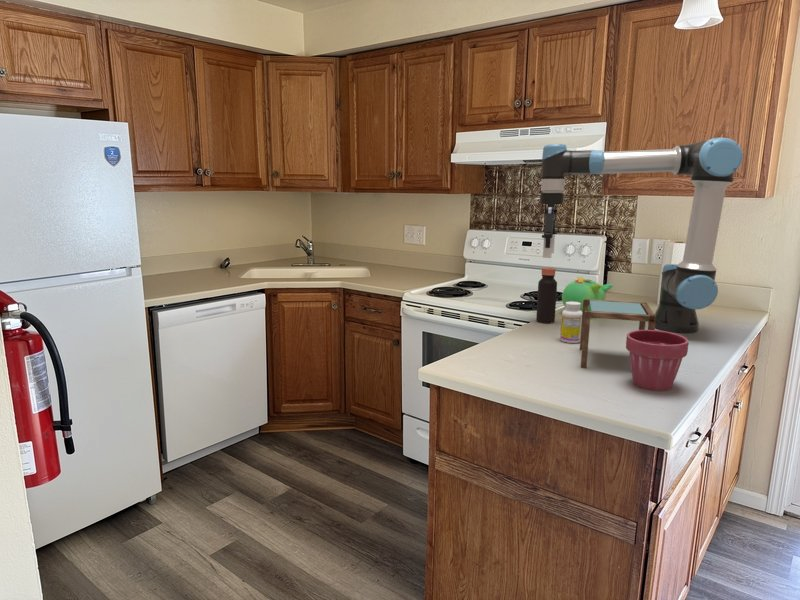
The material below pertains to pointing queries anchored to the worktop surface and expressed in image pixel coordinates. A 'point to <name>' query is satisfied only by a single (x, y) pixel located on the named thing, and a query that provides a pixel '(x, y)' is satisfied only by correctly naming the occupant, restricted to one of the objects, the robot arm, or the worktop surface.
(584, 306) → the frame
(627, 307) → the trapdoor
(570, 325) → the supplement bottle
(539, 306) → the vinegar
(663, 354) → the plant pot
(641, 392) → the worktop surface
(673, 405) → the worktop surface
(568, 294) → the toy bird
